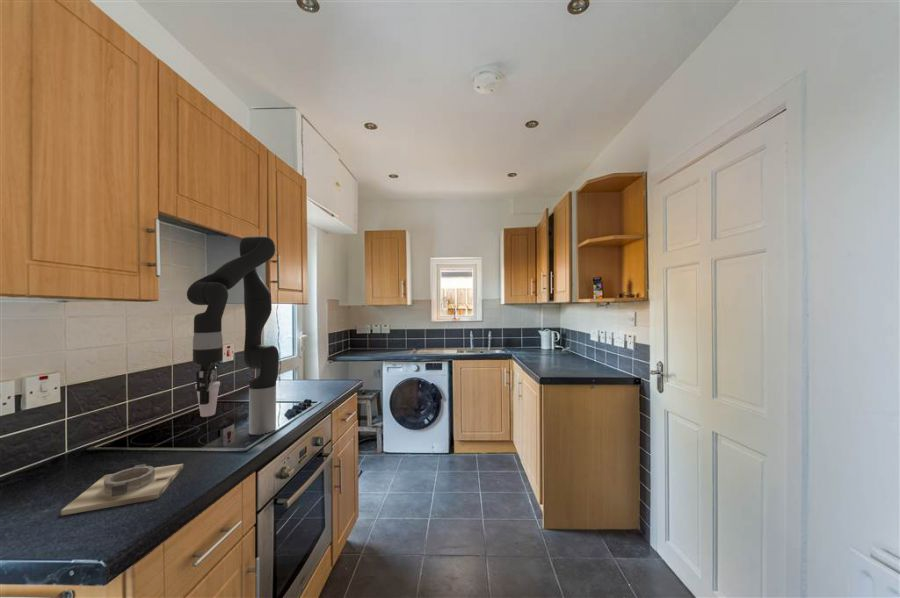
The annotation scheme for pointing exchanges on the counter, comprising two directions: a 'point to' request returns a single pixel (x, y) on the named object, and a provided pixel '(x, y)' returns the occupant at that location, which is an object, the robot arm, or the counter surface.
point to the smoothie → (211, 406)
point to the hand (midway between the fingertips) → (207, 400)
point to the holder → (125, 488)
